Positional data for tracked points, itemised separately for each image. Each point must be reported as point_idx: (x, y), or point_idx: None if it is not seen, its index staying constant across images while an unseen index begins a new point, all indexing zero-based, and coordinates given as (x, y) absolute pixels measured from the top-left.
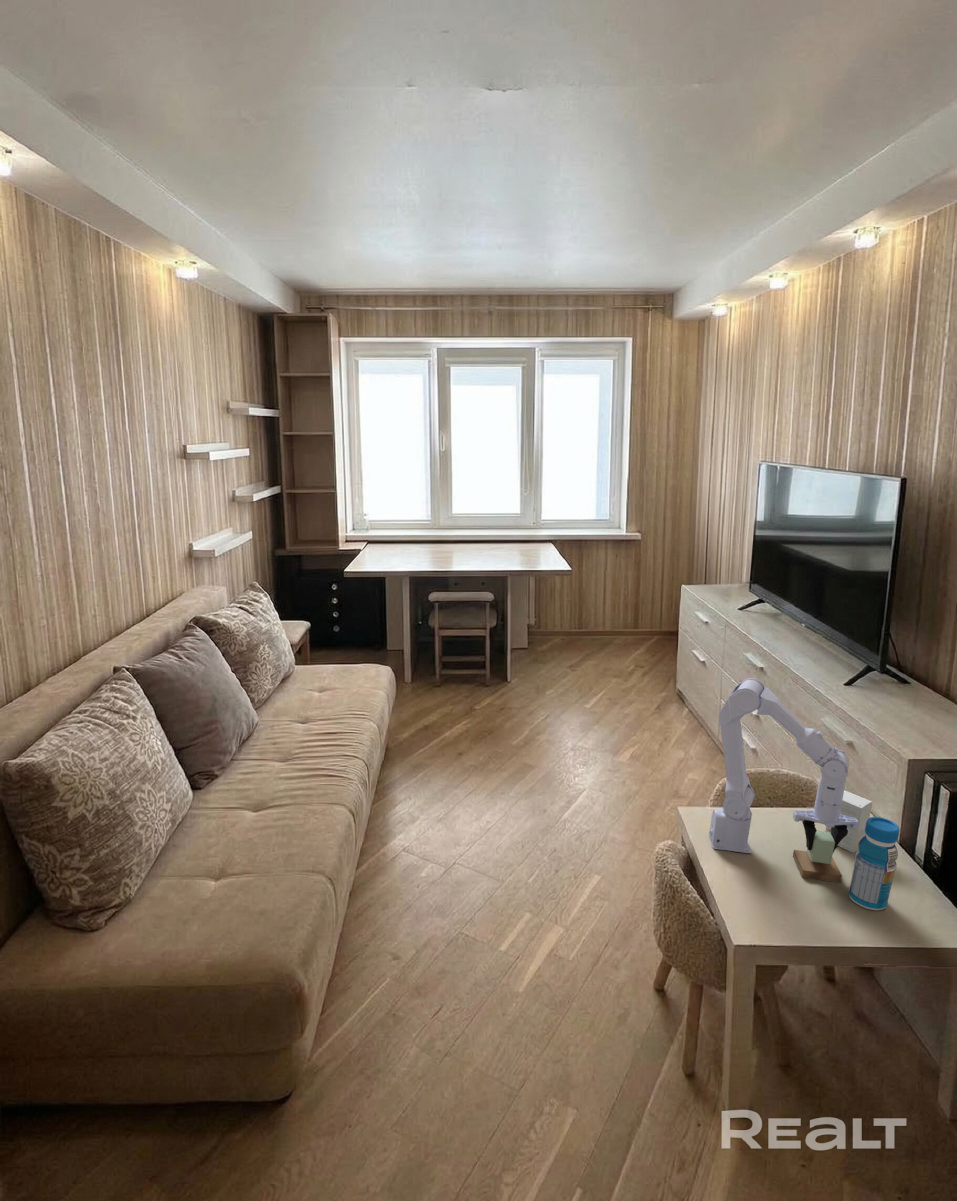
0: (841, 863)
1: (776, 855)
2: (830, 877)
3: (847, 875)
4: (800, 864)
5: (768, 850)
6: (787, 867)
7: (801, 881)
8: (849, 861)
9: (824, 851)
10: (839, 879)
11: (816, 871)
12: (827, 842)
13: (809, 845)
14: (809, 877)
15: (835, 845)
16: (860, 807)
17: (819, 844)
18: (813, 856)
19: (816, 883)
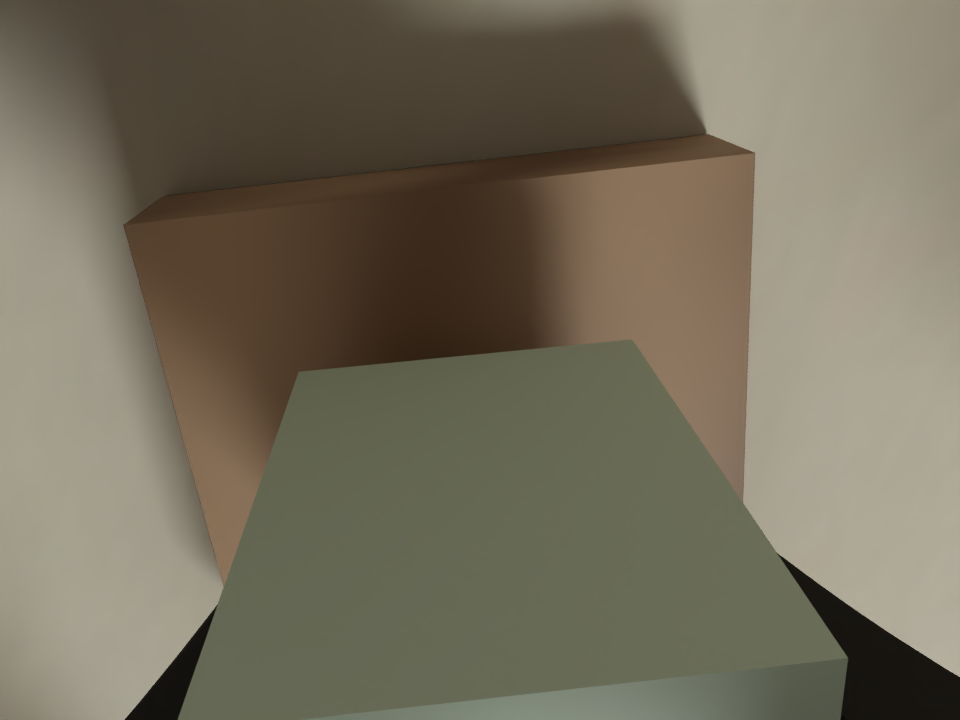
0: (135, 640)
1: (891, 534)
2: (308, 189)
3: (65, 413)
4: (747, 312)
5: (952, 597)
6: (836, 322)
7: (737, 19)
8: (41, 708)
9: (454, 477)
10: (173, 204)
11: (536, 191)
12: (430, 667)
13: (789, 562)
14: (607, 146)
15: (175, 701)
16: None
17: (641, 568)
18: (636, 381)
19: (521, 43)
